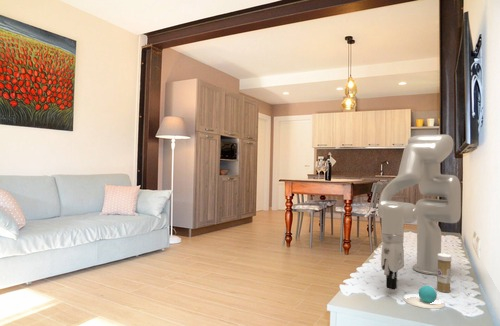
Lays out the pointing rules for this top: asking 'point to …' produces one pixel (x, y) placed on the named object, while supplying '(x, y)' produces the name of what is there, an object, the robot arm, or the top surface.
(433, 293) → the ball
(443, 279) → the sprinkles bottle
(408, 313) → the top surface
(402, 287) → the top surface
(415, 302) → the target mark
